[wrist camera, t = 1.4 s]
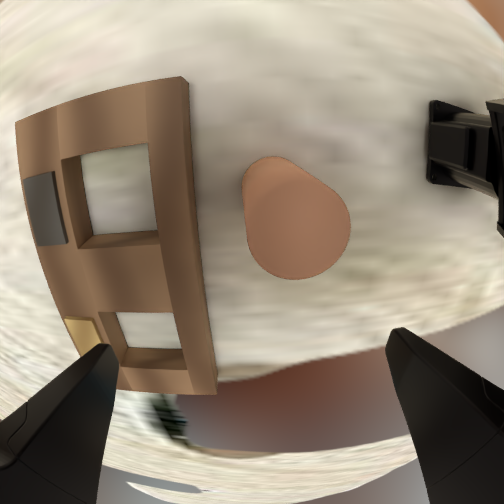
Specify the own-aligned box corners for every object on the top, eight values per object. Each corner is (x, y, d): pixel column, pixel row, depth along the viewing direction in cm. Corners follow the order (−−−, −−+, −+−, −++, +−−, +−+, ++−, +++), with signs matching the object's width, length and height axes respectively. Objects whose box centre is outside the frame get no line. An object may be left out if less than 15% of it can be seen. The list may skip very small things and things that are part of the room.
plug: (304, 156, 17) (354, 180, 10) (302, 216, 18) (344, 276, 11) (240, 157, 17) (245, 181, 9) (242, 218, 18) (248, 282, 11)
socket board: (188, 83, 14) (179, 74, 12) (217, 374, 25) (216, 398, 22) (35, 120, 14) (11, 123, 11) (104, 368, 24) (96, 389, 21)
